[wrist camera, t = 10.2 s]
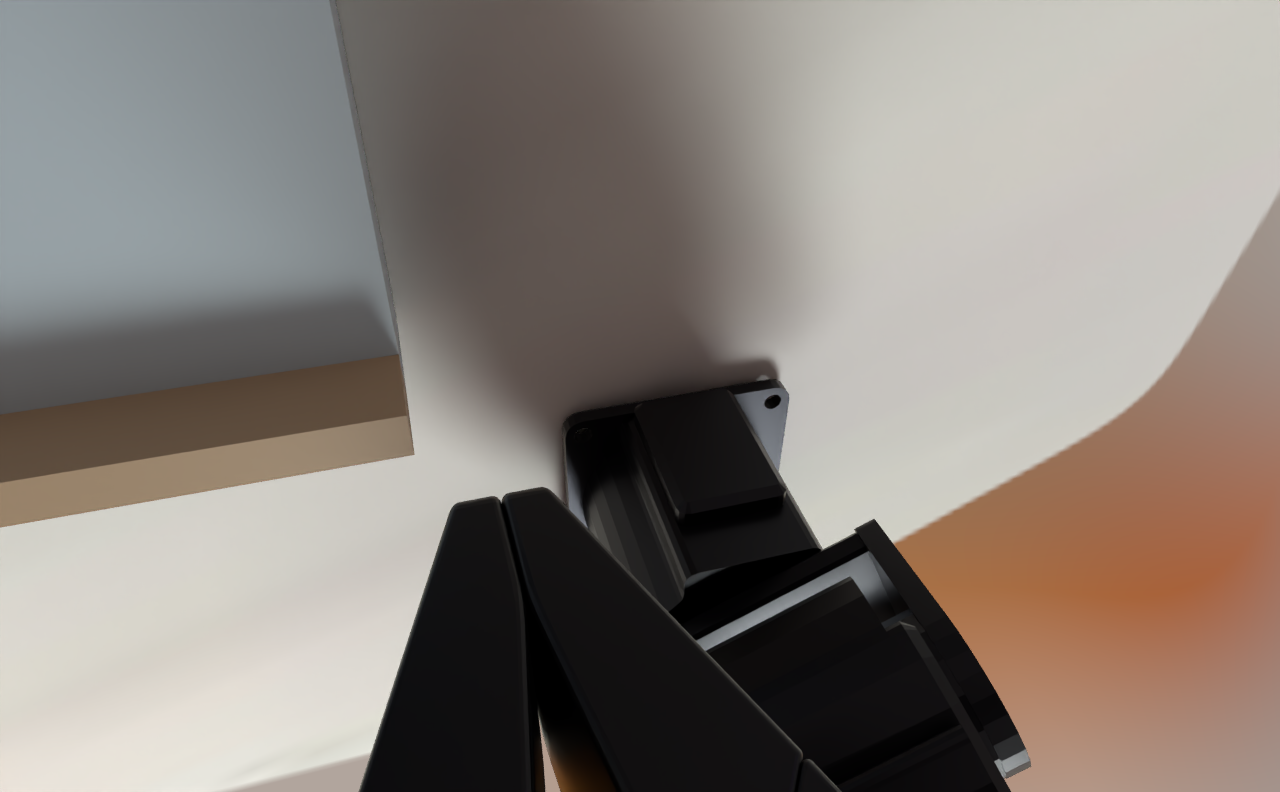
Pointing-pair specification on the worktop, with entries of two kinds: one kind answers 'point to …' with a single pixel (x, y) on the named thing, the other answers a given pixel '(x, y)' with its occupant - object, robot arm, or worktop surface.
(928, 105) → the worktop surface
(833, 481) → the worktop surface
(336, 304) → the board
